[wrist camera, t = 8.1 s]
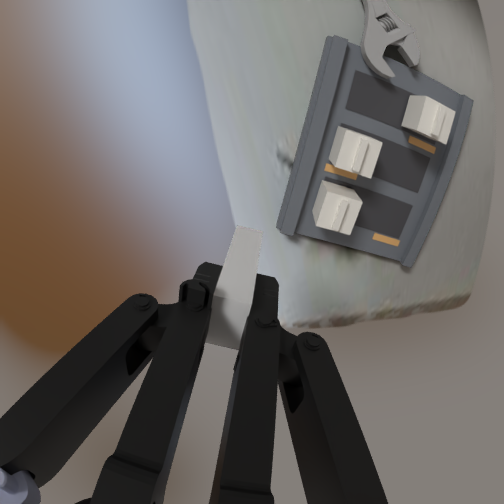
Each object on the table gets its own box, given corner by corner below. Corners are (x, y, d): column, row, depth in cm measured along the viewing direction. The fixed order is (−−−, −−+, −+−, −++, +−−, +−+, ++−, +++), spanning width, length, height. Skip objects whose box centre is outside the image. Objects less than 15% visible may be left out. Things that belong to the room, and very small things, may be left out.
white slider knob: (338, 125, 27) (347, 130, 23) (370, 136, 27) (384, 143, 23) (328, 158, 28) (336, 168, 24) (360, 168, 28) (372, 180, 24)
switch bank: (326, 38, 23) (329, 33, 22) (466, 101, 24) (476, 102, 22) (276, 223, 34) (276, 231, 32) (408, 259, 35) (414, 268, 33)
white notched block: (409, 95, 24) (429, 96, 20) (437, 108, 24) (458, 112, 20) (401, 125, 26) (419, 131, 22) (428, 138, 26) (449, 145, 22)
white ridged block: (321, 180, 30) (328, 193, 26) (353, 189, 30) (364, 204, 26) (312, 210, 31) (316, 228, 27) (342, 219, 31) (351, 237, 27)
